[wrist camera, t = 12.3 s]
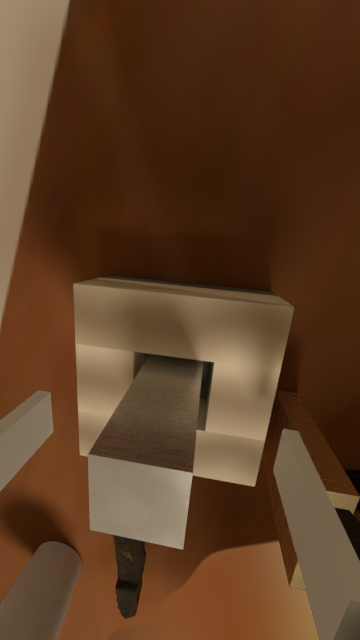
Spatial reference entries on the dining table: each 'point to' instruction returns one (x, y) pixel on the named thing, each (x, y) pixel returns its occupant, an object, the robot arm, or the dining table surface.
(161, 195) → the dining table surface
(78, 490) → the dining table surface
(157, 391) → the square bit
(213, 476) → the bore block
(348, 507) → the beige rectangular slab
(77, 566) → the coffee cup
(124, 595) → the hand tool
